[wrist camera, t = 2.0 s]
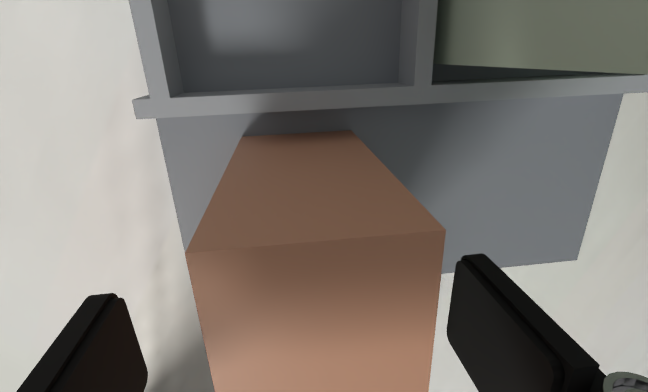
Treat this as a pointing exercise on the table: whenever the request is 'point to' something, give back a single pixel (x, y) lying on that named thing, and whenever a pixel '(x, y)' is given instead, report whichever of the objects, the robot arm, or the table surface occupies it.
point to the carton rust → (315, 270)
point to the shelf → (381, 114)
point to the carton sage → (544, 34)
